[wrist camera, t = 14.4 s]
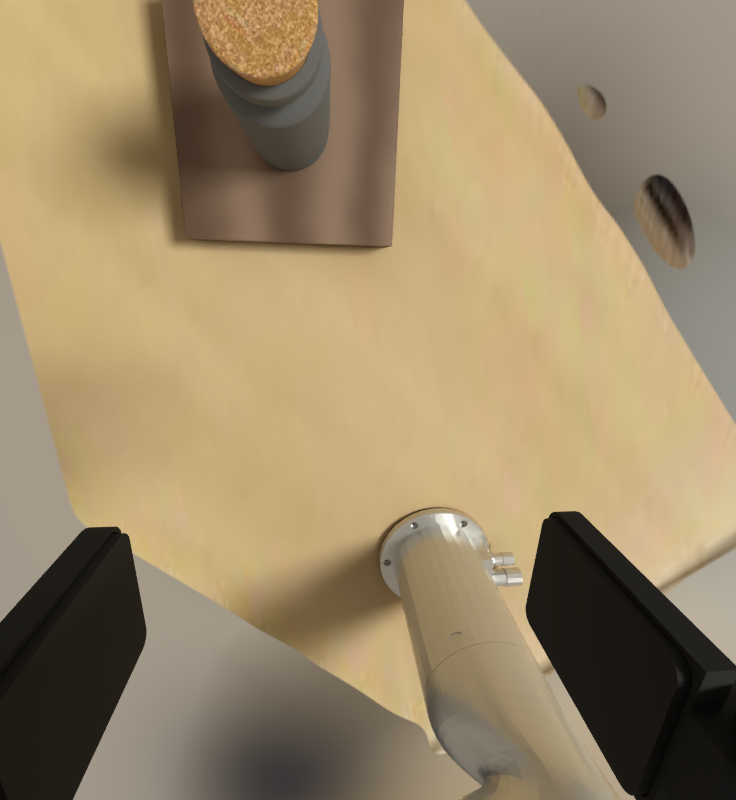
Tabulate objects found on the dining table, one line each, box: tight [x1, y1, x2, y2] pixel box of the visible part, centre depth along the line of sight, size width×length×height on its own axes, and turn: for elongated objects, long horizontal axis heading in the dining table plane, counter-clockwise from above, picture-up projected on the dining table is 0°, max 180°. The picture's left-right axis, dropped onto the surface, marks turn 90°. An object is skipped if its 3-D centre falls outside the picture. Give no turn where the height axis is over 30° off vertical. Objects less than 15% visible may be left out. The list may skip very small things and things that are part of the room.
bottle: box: [193, 0, 331, 171], centre depth 22 cm, size 6×6×15 cm
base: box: [162, 0, 404, 247], centre depth 31 cm, size 16×16×3 cm
